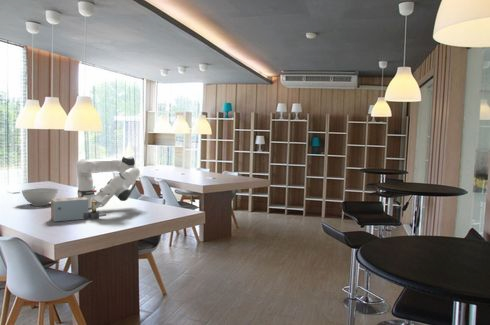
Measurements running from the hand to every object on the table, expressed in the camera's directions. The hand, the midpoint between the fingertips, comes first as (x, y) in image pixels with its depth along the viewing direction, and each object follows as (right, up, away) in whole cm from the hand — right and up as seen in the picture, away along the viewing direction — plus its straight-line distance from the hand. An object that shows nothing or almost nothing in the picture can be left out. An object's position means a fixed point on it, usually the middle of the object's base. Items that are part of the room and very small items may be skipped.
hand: (93, 207), depth 273 cm
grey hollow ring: (-1, -8, 0) cm, 8 cm away
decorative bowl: (-64, -3, +49) cm, 81 cm away
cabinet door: (-11, -8, -8) cm, 16 cm away
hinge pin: (0, -6, +1) cm, 6 cm away
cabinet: (-15, -8, -3) cm, 17 cm away
